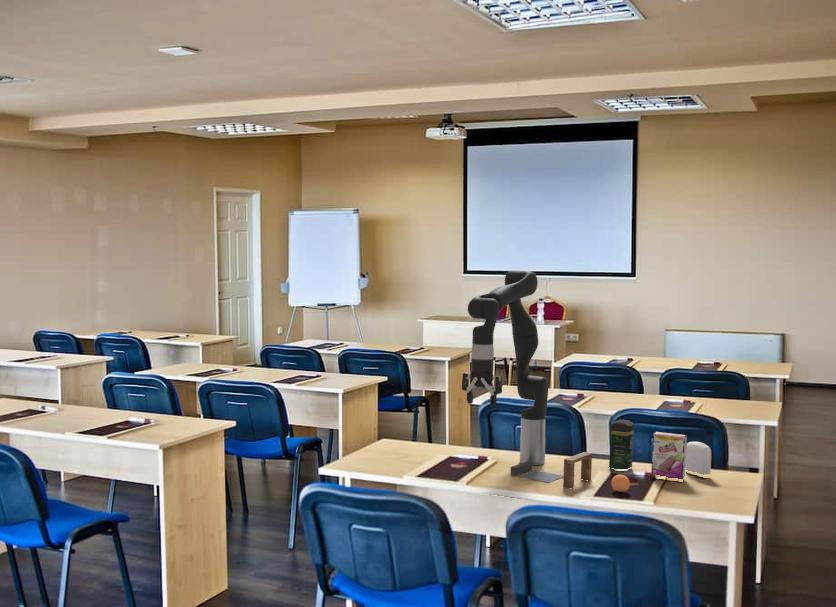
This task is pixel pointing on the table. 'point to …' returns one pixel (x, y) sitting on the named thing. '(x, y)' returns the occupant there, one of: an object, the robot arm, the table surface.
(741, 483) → the table surface
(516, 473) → the stopper bar
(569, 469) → the bridge
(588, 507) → the table surface
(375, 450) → the table surface
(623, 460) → the coffee jar
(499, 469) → the table surface
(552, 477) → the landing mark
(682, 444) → the candy bar box
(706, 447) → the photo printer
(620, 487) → the ball
